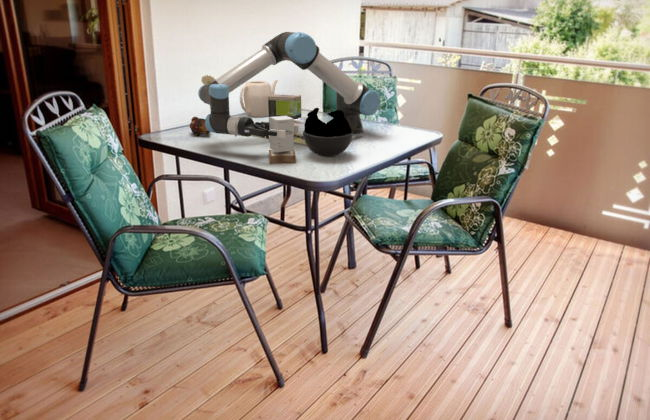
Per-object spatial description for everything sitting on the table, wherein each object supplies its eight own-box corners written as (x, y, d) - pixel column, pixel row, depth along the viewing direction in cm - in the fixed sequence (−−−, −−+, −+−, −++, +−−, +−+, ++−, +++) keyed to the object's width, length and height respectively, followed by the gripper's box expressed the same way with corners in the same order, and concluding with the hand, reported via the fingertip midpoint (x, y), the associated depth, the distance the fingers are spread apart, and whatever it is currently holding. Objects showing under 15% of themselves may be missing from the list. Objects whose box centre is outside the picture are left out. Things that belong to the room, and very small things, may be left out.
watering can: (286, 114, 287) (286, 81, 280) (249, 120, 270) (248, 84, 263) (269, 110, 297) (268, 78, 291) (232, 116, 280) (231, 82, 273)
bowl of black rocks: (359, 160, 197) (361, 113, 190) (311, 164, 190) (312, 115, 183) (341, 148, 214) (342, 104, 207) (296, 152, 208) (296, 106, 201)
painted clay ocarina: (201, 130, 244) (201, 114, 241) (218, 138, 234) (218, 121, 231) (183, 132, 237) (183, 115, 234) (200, 140, 228) (200, 122, 225)
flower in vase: (230, 124, 259) (228, 75, 250) (215, 128, 250) (211, 77, 241) (212, 121, 265) (209, 73, 256) (196, 125, 256) (192, 75, 247)
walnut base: (294, 156, 201) (293, 149, 200) (295, 163, 192) (295, 155, 191) (269, 157, 200) (268, 149, 199) (269, 163, 191) (269, 156, 189)
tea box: (301, 123, 265) (301, 94, 260) (294, 126, 256) (294, 97, 251) (276, 120, 270) (275, 93, 264) (268, 124, 261) (267, 95, 255)
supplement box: (276, 153, 190) (276, 120, 185) (269, 148, 196) (268, 116, 191) (294, 150, 193) (294, 118, 188) (286, 146, 199) (286, 115, 194)
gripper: (256, 130, 209) (304, 135, 201) (226, 141, 190) (278, 147, 182) (255, 112, 206) (304, 117, 198) (225, 122, 187) (277, 127, 179)
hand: (291, 131), depth 190 cm, fingers closed on supplement box, 10 cm apart
